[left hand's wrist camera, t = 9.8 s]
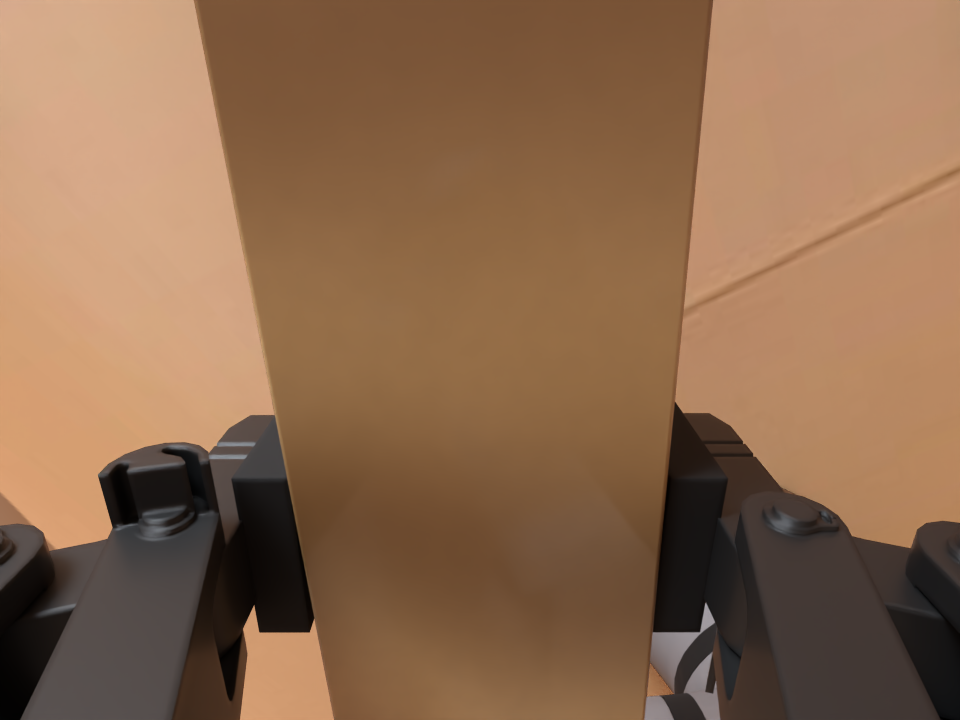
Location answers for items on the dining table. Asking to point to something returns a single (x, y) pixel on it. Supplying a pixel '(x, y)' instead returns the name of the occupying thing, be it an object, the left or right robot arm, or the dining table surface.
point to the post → (469, 329)
